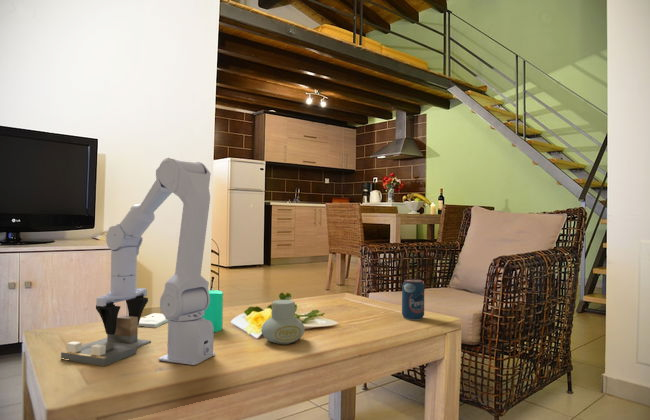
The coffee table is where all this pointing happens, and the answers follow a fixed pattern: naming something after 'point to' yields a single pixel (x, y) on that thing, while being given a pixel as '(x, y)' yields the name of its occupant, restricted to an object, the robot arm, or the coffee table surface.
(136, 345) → the tool pad
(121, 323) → the bar
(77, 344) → the tab
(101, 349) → the tab
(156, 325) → the external hard drive
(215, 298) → the candle
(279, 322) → the air freshener
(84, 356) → the switch board
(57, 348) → the coffee table surface
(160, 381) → the coffee table surface
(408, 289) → the soda can
